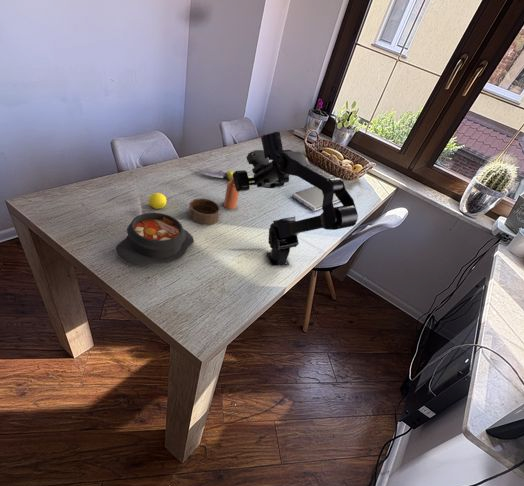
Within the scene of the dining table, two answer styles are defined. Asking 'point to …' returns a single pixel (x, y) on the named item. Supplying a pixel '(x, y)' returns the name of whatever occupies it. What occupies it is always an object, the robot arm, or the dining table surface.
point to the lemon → (157, 200)
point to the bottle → (231, 195)
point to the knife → (219, 174)
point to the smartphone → (312, 198)
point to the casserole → (154, 240)
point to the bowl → (204, 211)
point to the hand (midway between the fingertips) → (246, 186)
